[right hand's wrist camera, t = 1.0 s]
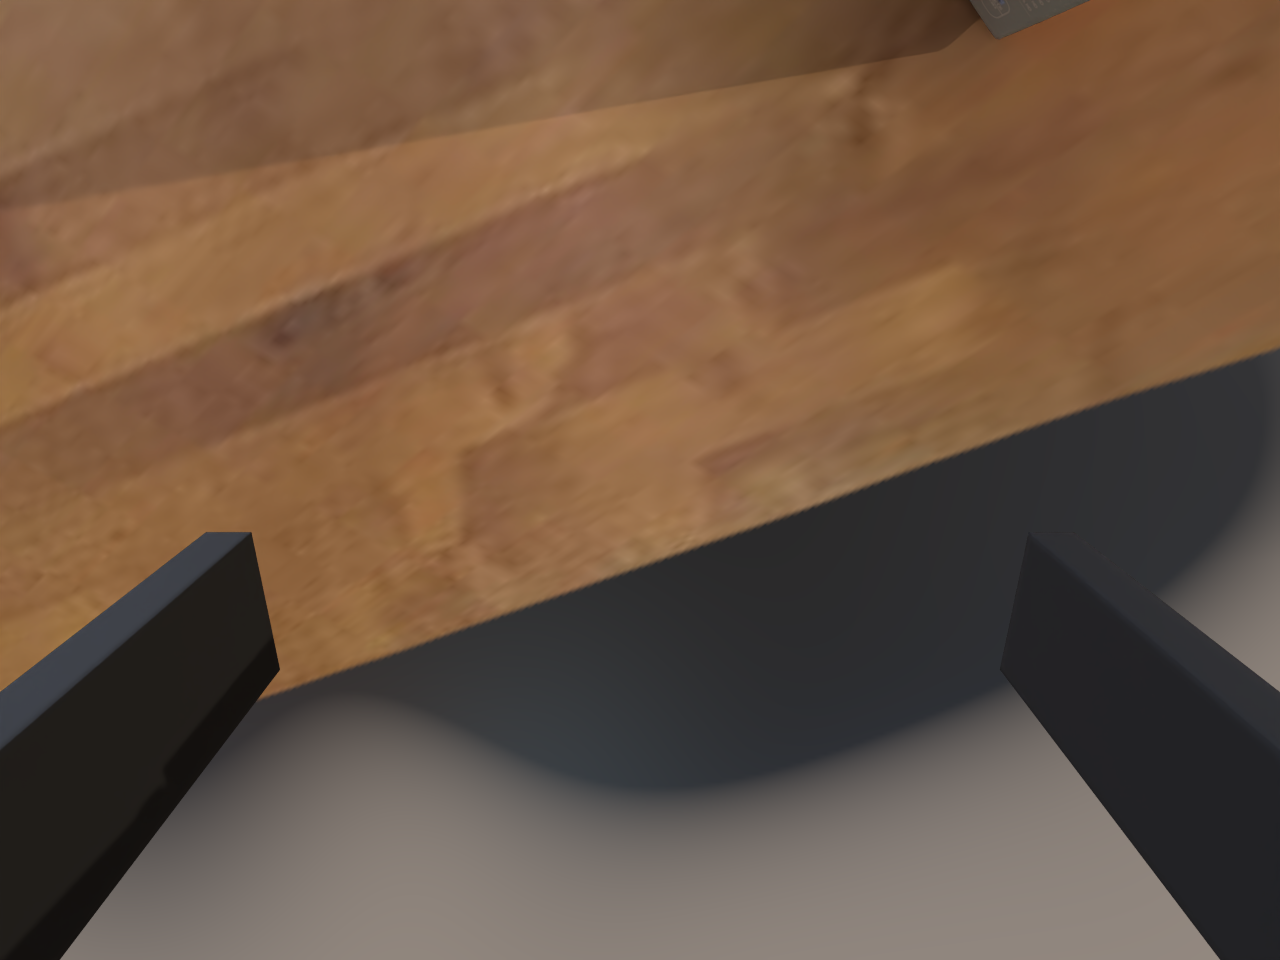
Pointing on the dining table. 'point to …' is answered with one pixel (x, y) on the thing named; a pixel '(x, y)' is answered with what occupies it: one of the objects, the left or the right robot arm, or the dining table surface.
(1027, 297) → the dining table surface
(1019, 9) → the hard drive box
